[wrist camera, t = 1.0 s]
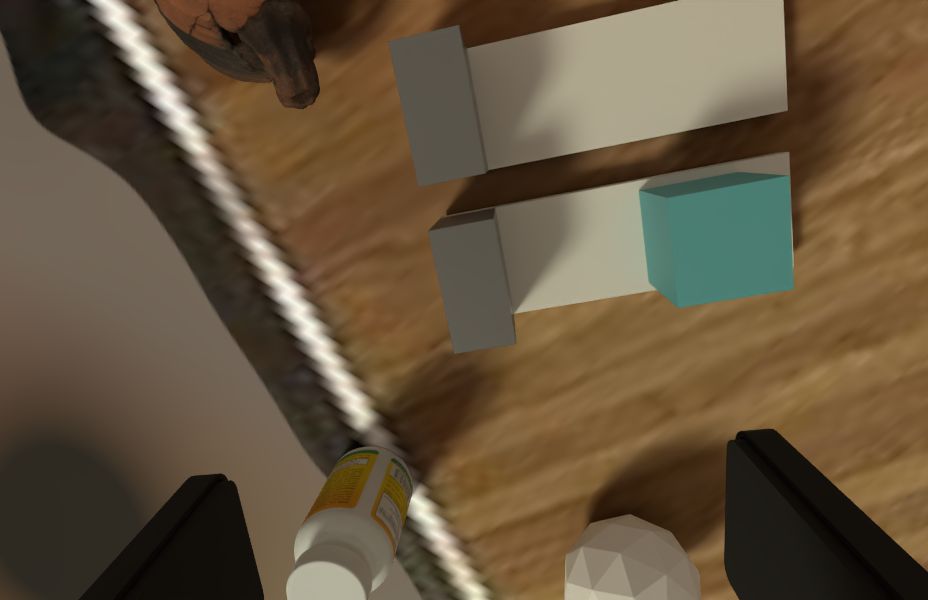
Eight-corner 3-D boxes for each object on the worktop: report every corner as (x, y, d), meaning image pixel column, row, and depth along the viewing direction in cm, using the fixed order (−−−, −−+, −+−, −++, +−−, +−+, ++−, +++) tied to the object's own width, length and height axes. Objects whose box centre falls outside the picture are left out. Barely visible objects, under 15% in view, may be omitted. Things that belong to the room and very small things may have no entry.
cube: (738, 171, 27) (789, 175, 22) (744, 266, 28) (793, 289, 23) (638, 190, 28) (667, 198, 23) (648, 282, 29) (678, 307, 24)
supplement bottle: (427, 463, 34) (399, 578, 25) (395, 526, 36) (357, 656, 26) (350, 429, 34) (293, 532, 25) (321, 493, 35) (257, 613, 26)
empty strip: (772, -17, 26) (850, -67, 20) (777, 112, 27) (852, 101, 21) (412, 64, 28) (387, 41, 22) (435, 180, 29) (418, 186, 23)
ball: (600, 539, 38) (562, 657, 33) (577, 474, 34) (529, 599, 29) (716, 576, 34) (692, 717, 29) (708, 507, 29) (678, 660, 24)
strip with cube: (779, 151, 28) (852, 151, 22) (784, 263, 29) (853, 290, 23) (442, 216, 30) (428, 230, 24) (463, 316, 31) (454, 354, 25)
